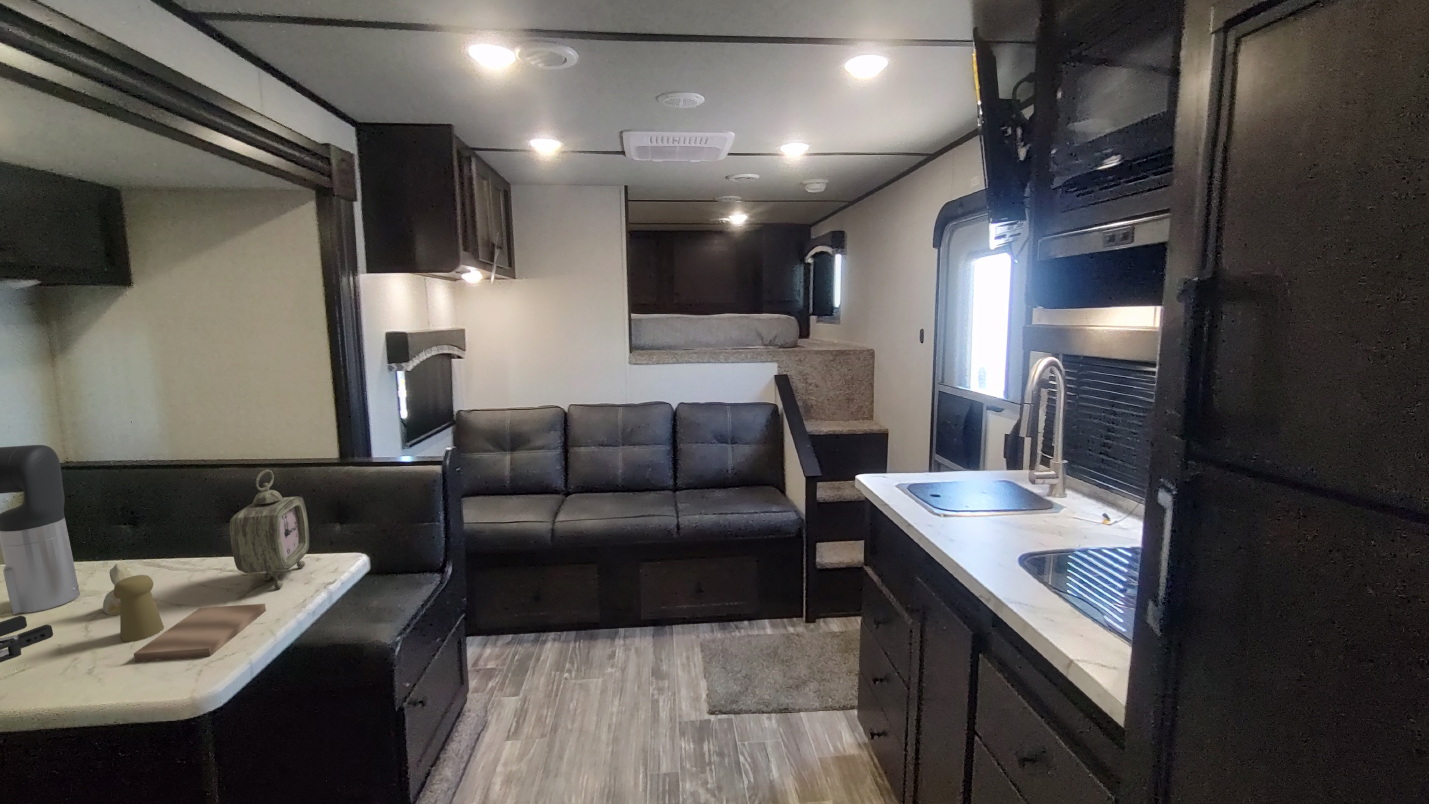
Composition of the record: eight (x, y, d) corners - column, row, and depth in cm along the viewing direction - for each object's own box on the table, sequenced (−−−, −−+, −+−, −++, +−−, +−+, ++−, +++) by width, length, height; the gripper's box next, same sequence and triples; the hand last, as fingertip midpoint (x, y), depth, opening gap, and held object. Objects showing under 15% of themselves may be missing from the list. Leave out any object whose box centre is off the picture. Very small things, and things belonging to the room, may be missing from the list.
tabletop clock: (284, 591, 130) (268, 478, 126) (235, 596, 129) (218, 481, 124) (313, 563, 144) (300, 461, 140) (270, 567, 143) (255, 463, 138)
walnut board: (210, 656, 107) (208, 648, 106) (134, 661, 105) (133, 653, 105) (266, 610, 122) (265, 603, 122) (201, 614, 121) (199, 607, 121)
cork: (114, 645, 111) (103, 588, 109) (127, 629, 116) (117, 575, 114) (158, 636, 113) (148, 580, 112) (168, 621, 119) (159, 568, 117)
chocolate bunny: (107, 621, 119) (98, 572, 118) (102, 608, 124) (93, 562, 123) (145, 610, 123) (137, 563, 122) (139, 598, 128) (130, 553, 127)
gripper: (-106, 665, 83) (56, 611, 98) (-147, 646, 89) (12, 597, 104) (-94, 716, 85) (64, 654, 99) (-136, 693, 90) (20, 638, 105)
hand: (38, 625), depth 101 cm, fingers open, 8 cm apart
